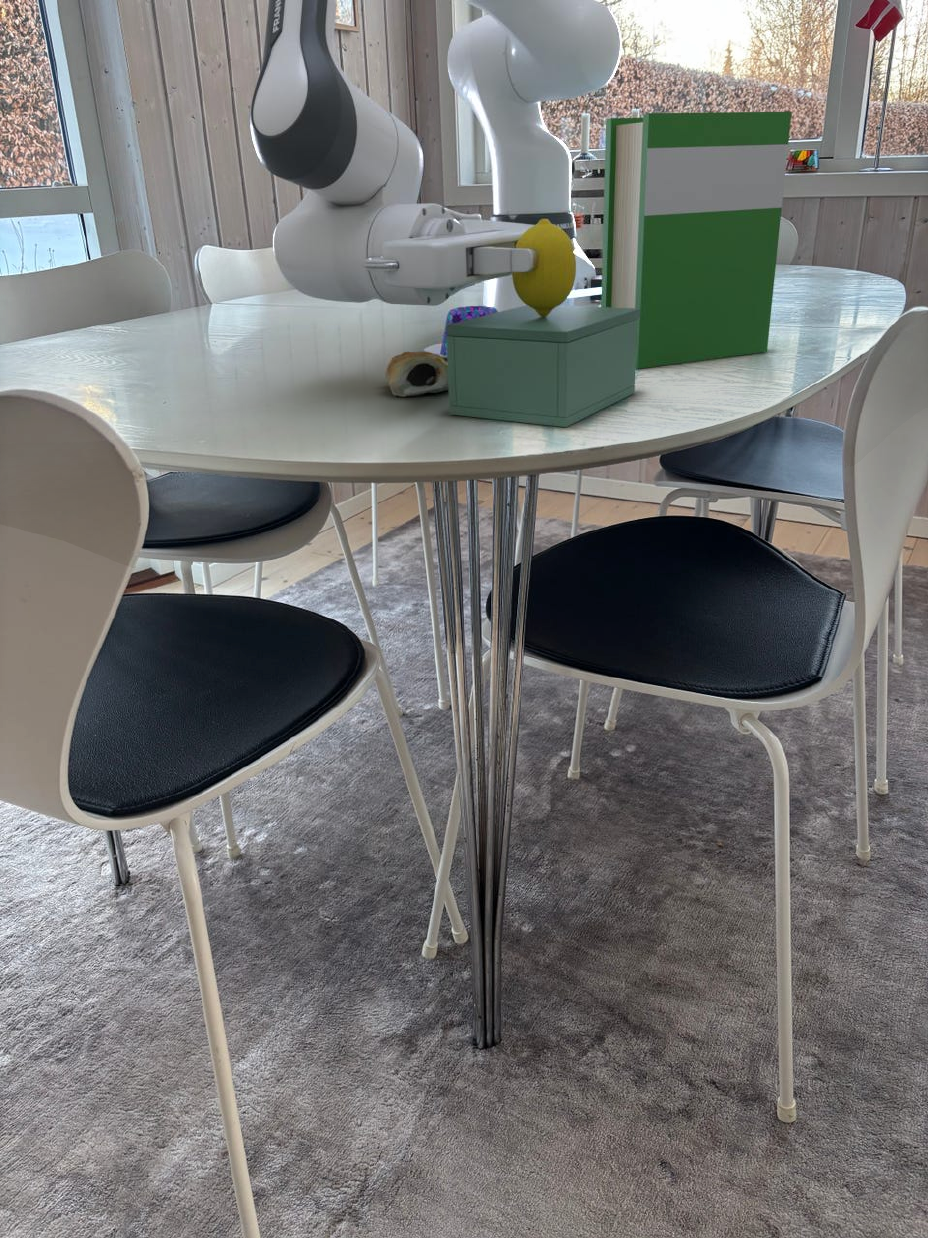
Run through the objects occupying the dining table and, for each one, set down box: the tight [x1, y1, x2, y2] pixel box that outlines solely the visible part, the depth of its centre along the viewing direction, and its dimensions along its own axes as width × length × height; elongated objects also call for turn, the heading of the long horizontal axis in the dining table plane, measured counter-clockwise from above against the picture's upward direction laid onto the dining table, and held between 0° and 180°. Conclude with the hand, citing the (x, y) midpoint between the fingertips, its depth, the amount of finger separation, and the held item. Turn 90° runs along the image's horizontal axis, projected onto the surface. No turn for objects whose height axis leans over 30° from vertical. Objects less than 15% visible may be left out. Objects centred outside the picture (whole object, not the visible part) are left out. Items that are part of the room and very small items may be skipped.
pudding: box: [423, 305, 498, 360], centre depth 109 cm, size 12×12×5 cm
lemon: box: [512, 219, 576, 317], centre depth 80 cm, size 6×6×8 cm
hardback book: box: [601, 111, 792, 370], centre depth 99 cm, size 18×7×24 cm, turn 115°
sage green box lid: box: [446, 305, 641, 343], centre depth 82 cm, size 15×12×1 cm
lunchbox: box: [446, 319, 638, 428], centre depth 83 cm, size 15×12×7 cm
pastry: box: [384, 350, 449, 398], centre depth 93 cm, size 9×7×4 cm
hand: (553, 256), depth 79 cm, fingers closed on lemon, 5 cm apart
